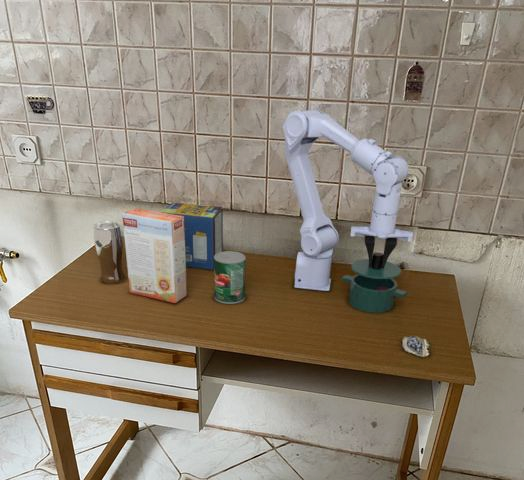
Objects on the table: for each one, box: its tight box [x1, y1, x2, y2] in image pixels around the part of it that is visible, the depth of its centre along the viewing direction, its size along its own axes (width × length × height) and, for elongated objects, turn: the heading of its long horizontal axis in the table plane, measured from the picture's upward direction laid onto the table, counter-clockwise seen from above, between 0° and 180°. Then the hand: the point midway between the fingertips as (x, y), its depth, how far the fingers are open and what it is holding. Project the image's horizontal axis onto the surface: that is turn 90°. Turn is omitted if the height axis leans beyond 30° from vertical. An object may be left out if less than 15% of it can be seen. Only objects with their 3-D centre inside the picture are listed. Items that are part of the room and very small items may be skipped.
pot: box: [341, 274, 408, 314], centre depth 132 cm, size 11×17×6 cm
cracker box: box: [121, 207, 188, 304], centre depth 128 cm, size 14×6×21 cm, turn 65°
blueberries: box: [401, 335, 430, 358], centre depth 114 cm, size 7×8×2 cm
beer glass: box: [93, 220, 125, 285], centre depth 136 cm, size 7×7×15 cm
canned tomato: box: [213, 250, 247, 305], centre depth 131 cm, size 8×8×11 cm
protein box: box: [160, 202, 224, 271], centre depth 150 cm, size 10×15×16 cm
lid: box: [350, 252, 402, 279], centre depth 128 cm, size 12×12×5 cm
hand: (376, 266), depth 129 cm, fingers closed on lid, 2 cm apart
